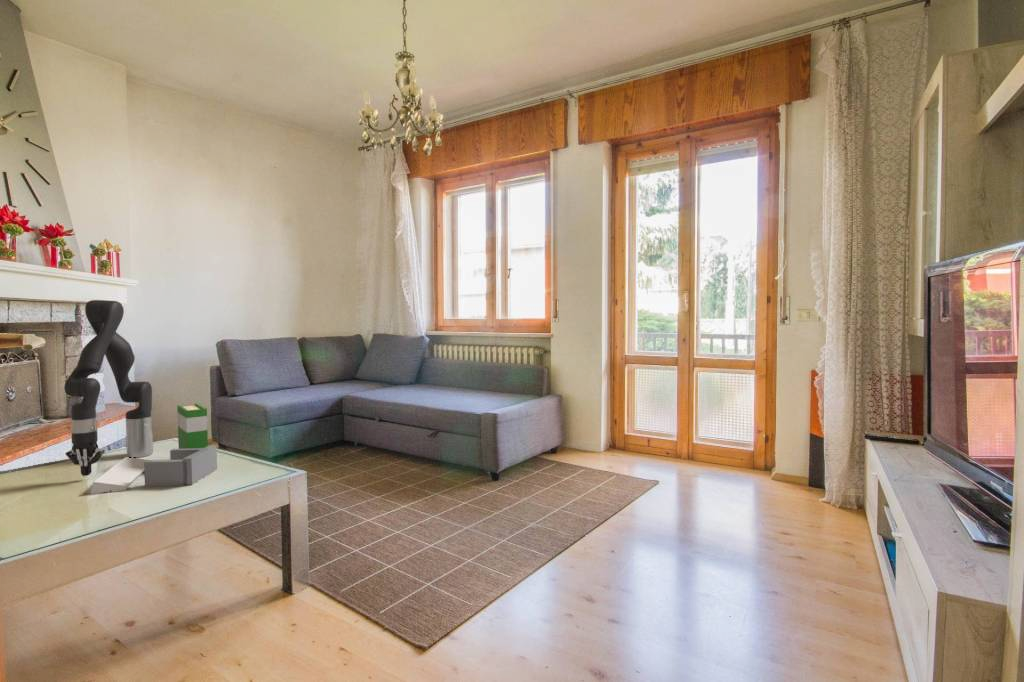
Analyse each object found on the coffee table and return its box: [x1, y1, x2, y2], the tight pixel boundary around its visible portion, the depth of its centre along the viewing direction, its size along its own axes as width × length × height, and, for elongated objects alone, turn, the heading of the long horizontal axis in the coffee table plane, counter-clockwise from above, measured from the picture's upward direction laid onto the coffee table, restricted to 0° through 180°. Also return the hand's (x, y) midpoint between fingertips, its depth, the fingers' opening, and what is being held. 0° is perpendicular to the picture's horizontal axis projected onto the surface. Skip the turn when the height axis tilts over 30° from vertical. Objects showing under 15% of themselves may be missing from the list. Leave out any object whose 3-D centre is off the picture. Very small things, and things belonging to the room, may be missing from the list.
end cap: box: [143, 444, 218, 487], centre depth 195 cm, size 19×16×10 cm
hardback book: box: [176, 403, 209, 449], centre depth 215 cm, size 18×7×24 cm, turn 43°
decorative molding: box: [89, 456, 149, 495], centre depth 194 cm, size 34×5×10 cm
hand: (86, 475), depth 192 cm, fingers closed
